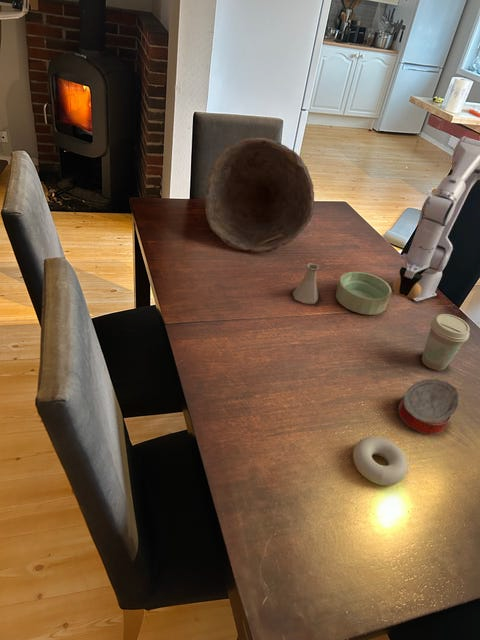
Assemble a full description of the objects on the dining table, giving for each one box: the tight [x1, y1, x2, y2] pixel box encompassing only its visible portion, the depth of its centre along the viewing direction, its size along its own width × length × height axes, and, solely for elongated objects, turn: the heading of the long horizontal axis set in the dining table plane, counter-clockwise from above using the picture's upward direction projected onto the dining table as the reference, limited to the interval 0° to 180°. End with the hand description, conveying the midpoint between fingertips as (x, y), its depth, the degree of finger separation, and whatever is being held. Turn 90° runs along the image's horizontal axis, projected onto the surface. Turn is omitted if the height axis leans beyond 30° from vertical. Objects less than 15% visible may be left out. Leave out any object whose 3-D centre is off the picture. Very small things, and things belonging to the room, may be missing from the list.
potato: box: [392, 277, 421, 300], centre depth 124 cm, size 7×4×4 cm, turn 59°
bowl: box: [204, 137, 315, 253], centre depth 156 cm, size 34×35×30 cm
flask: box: [292, 262, 320, 305], centre depth 128 cm, size 7×7×10 cm
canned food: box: [397, 378, 459, 435], centre depth 97 cm, size 11×10×10 cm
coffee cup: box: [421, 313, 471, 372], centre depth 111 cm, size 8×8×12 cm
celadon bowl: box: [335, 271, 393, 316], centre depth 131 cm, size 14×14×6 cm
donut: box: [352, 435, 409, 487], centre depth 86 cm, size 10×4×10 cm
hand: (405, 290), depth 124 cm, fingers closed on potato, 4 cm apart
